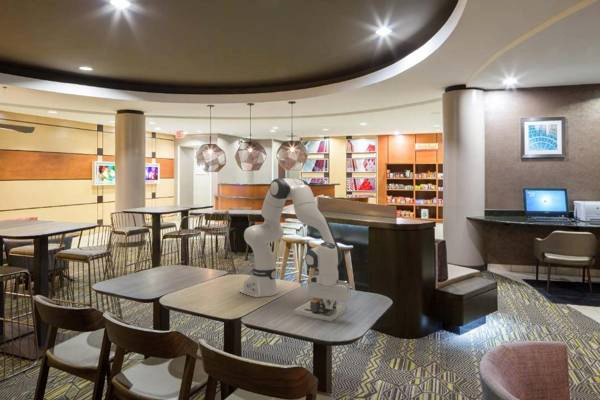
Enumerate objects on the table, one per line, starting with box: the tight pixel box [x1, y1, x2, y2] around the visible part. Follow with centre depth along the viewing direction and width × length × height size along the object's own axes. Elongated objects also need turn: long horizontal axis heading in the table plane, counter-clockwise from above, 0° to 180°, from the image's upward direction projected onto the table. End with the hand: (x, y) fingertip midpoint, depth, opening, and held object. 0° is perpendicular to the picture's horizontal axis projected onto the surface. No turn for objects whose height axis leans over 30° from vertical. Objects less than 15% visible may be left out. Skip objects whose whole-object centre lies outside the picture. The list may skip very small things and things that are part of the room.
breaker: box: [322, 300, 331, 310], centre depth 179 cm, size 3×4×5 cm
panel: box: [293, 300, 348, 323], centre depth 181 cm, size 20×16×2 cm
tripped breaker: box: [309, 298, 320, 312], centre depth 177 cm, size 3×4×5 cm
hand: (329, 308), depth 173 cm, fingers closed
